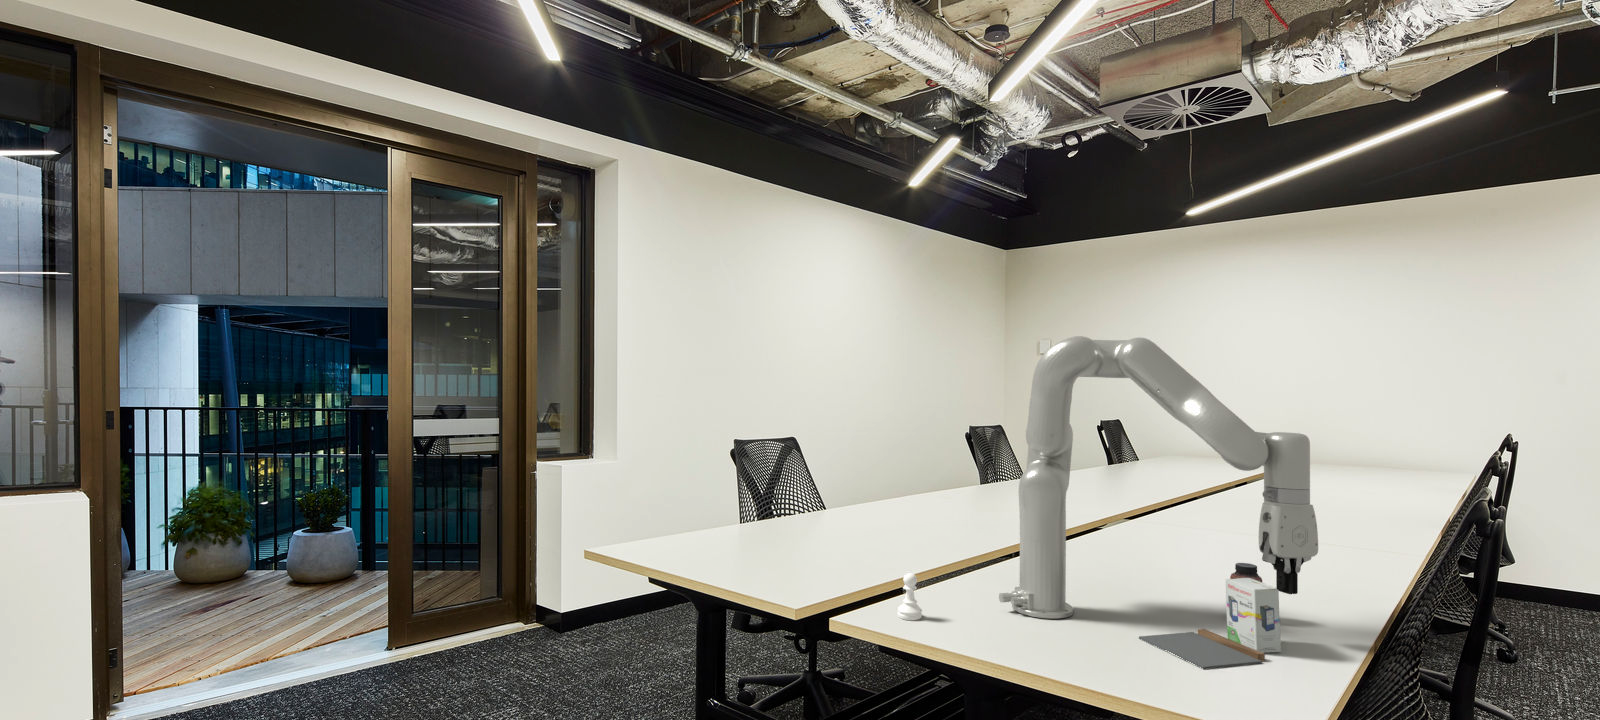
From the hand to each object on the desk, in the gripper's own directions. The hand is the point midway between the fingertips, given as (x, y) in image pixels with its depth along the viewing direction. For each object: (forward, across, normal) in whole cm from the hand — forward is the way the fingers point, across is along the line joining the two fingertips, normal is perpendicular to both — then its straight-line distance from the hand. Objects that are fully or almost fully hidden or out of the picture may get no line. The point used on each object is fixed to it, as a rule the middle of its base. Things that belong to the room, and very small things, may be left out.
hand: (1286, 592), depth 145 cm
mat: (+10, -21, 0) cm, 23 cm away
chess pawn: (+10, -65, +30) cm, 72 cm away
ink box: (+10, -8, 0) cm, 13 cm away
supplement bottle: (+10, +5, +14) cm, 18 cm away
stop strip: (+10, -14, 0) cm, 17 cm away
